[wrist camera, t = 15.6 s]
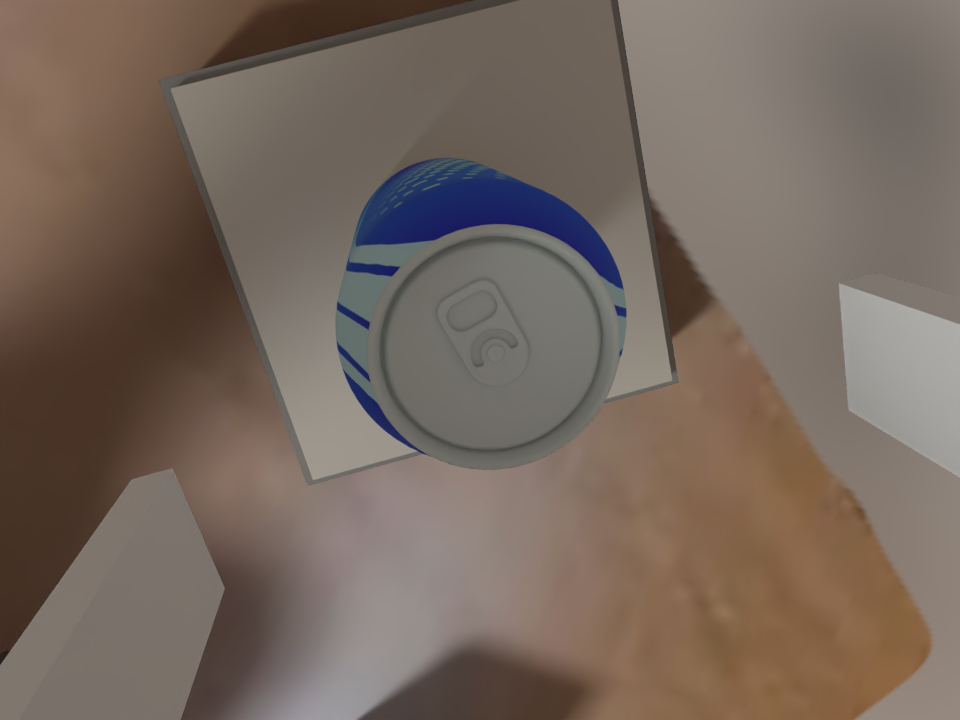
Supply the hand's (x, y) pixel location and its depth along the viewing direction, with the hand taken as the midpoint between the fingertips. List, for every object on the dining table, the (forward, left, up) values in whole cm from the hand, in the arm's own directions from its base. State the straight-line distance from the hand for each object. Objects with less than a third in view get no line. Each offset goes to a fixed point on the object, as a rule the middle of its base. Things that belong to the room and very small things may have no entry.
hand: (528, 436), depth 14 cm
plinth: (0, 0, -26) cm, 26 cm away
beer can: (0, 0, -21) cm, 21 cm away
